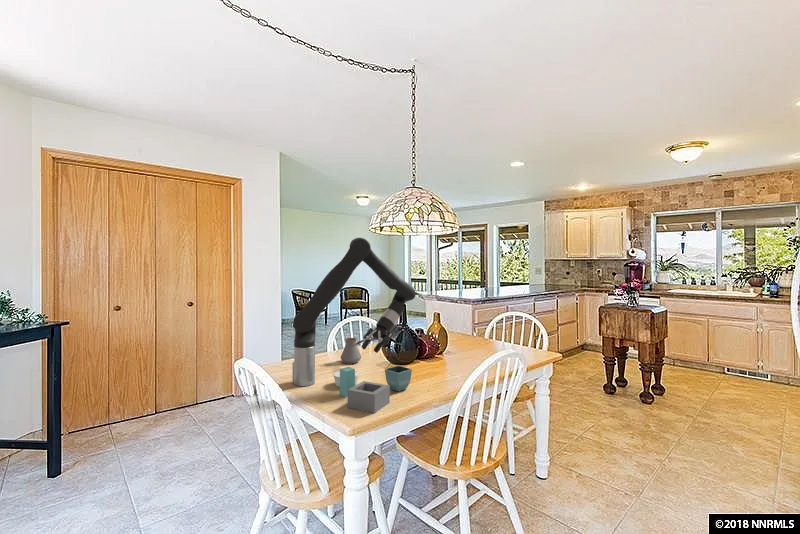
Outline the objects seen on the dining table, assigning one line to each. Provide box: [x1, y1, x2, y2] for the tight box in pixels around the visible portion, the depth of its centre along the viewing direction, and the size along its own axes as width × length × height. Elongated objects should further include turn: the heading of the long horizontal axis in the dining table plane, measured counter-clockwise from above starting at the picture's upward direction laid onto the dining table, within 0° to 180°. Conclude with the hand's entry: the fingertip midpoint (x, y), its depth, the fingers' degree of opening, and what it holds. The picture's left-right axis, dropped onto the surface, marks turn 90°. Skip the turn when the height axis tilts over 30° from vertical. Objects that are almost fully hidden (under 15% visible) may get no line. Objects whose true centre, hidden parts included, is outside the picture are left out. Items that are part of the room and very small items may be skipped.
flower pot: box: [384, 365, 413, 392], centre depth 172 cm, size 9×9×9 cm
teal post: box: [339, 366, 356, 399], centre depth 165 cm, size 4×4×11 cm
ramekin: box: [333, 370, 359, 388], centre depth 178 cm, size 11×11×5 cm
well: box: [346, 380, 391, 414], centre depth 153 cm, size 12×12×7 cm
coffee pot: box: [340, 337, 365, 365], centre depth 212 cm, size 21×12×15 cm, turn 32°
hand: (368, 350), depth 172 cm, fingers open, 8 cm apart
